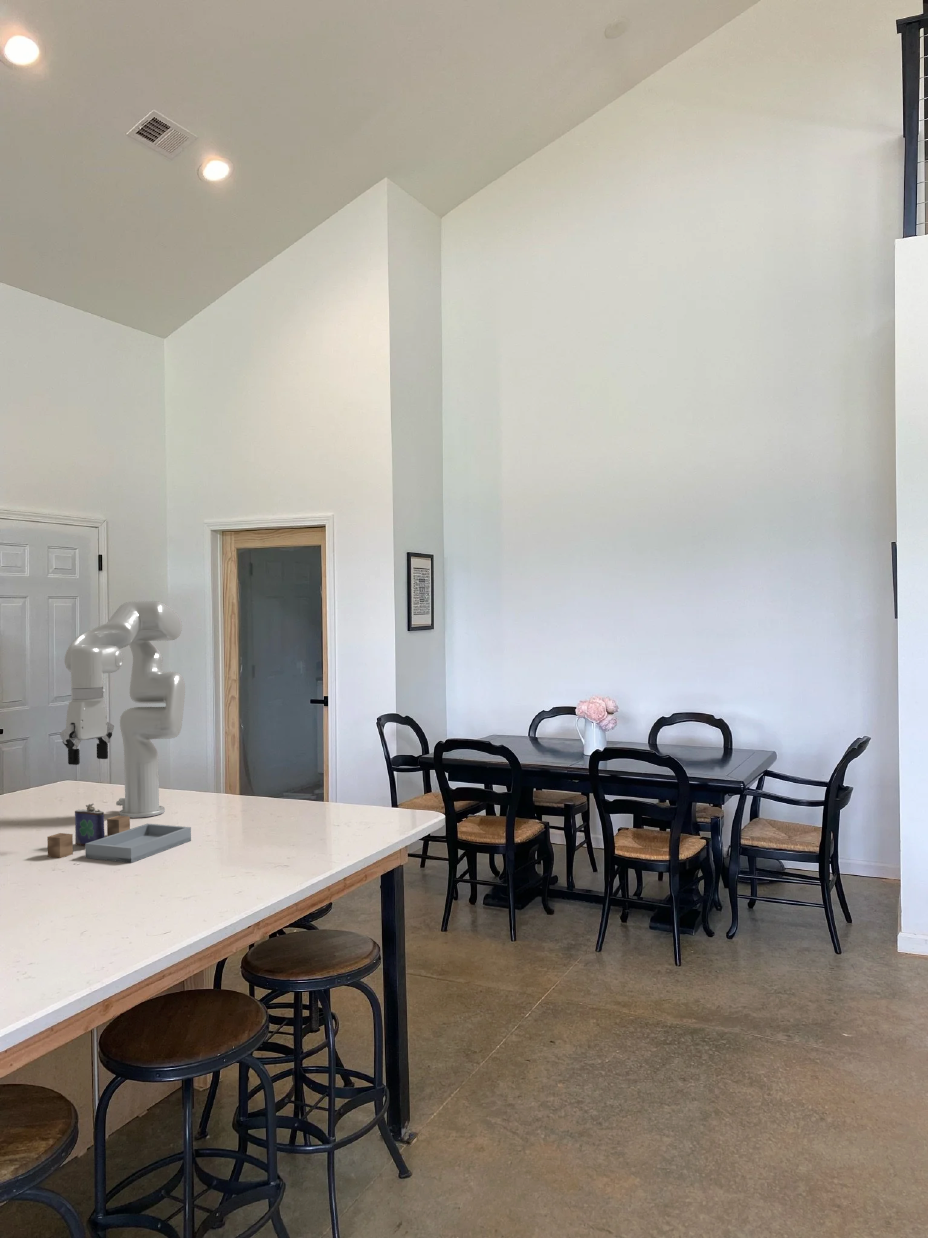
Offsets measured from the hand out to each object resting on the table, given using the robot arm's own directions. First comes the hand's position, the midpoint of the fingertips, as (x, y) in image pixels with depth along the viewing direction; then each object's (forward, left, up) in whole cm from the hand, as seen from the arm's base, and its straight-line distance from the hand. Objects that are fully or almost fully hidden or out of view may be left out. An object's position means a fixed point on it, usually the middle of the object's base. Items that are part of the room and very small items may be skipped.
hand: (88, 761), depth 234 cm
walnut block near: (0, -10, -22) cm, 24 cm away
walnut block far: (0, +10, -22) cm, 24 cm away
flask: (0, 0, -22) cm, 22 cm away
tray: (+15, +1, -22) cm, 26 cm away
